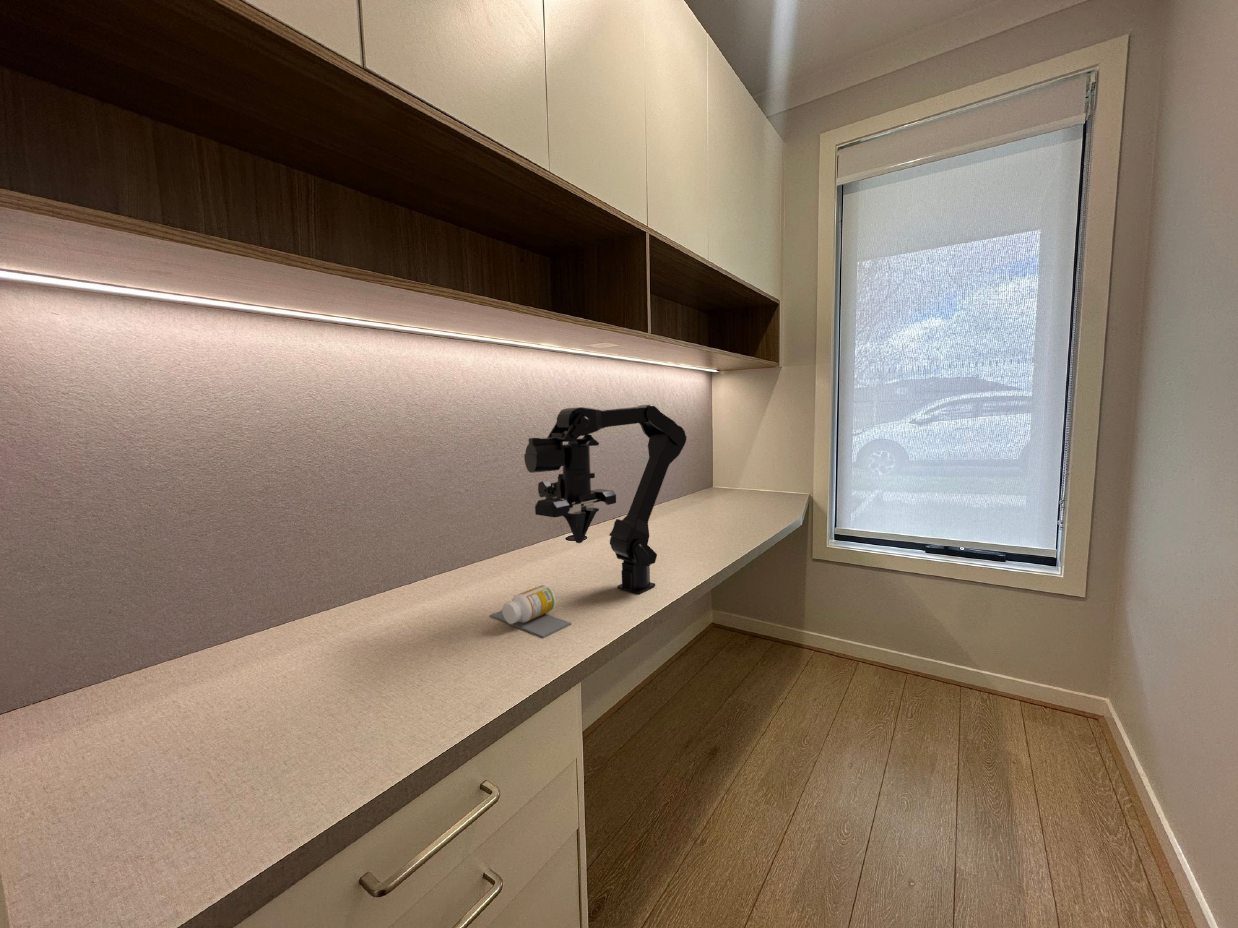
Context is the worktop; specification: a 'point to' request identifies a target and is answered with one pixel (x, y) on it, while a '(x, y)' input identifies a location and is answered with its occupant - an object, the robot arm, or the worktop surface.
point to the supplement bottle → (529, 605)
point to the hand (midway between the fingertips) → (579, 542)
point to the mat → (537, 624)
